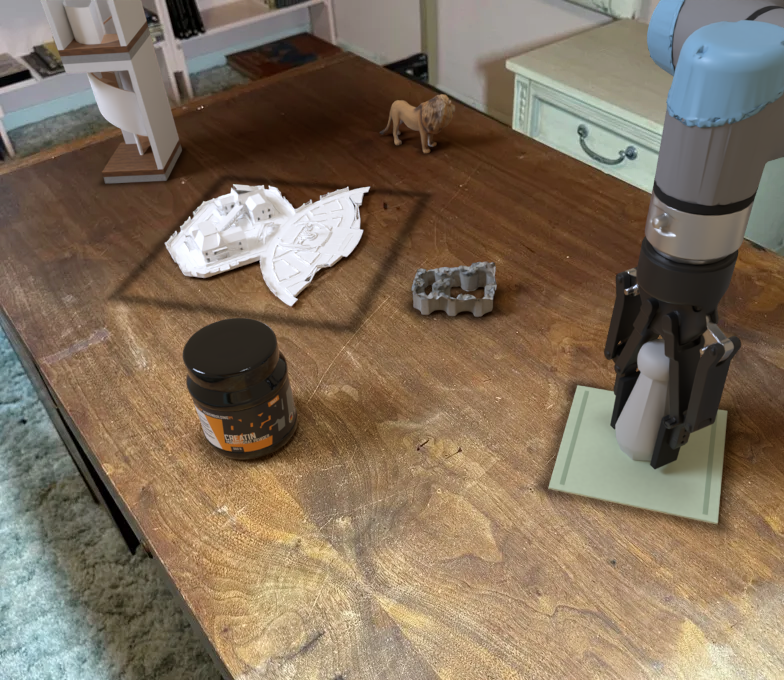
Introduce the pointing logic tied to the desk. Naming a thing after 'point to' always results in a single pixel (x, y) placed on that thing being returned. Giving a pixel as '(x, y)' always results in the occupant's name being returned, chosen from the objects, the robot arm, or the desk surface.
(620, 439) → the salt shaker
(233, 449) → the supplement container
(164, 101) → the tiered tower model
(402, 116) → the lion figurine
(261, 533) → the desk surface
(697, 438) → the napkin
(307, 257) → the architectural model
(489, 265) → the egg carton
